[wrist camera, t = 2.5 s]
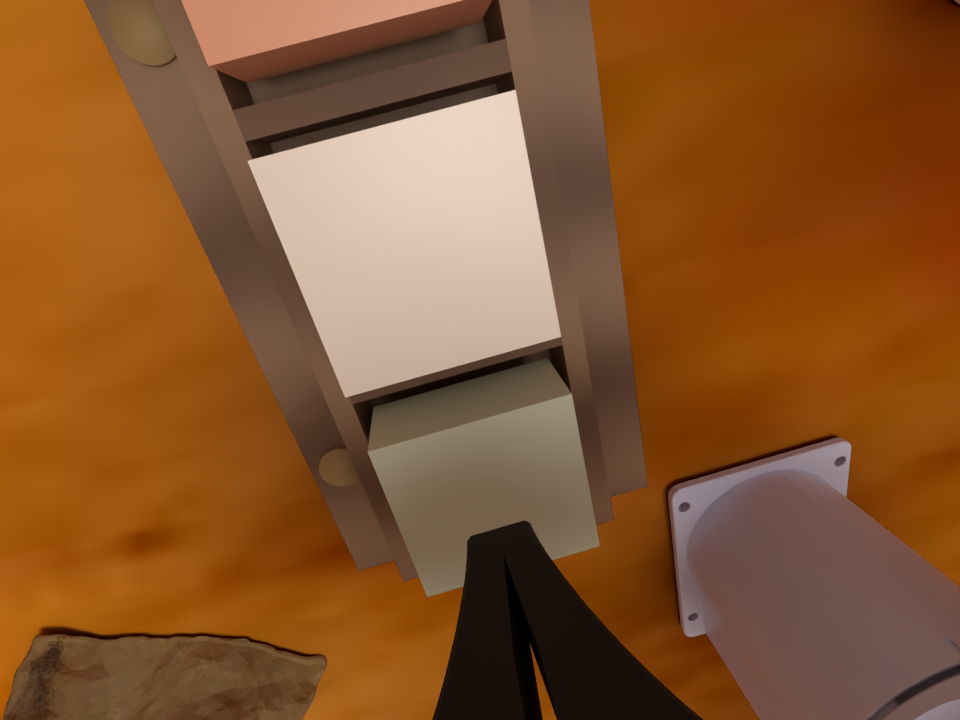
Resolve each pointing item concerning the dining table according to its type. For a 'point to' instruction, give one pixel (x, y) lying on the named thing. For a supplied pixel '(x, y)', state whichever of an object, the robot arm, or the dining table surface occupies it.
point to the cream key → (415, 242)
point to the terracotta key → (314, 30)
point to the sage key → (483, 468)
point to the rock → (161, 680)
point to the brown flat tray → (366, 104)
